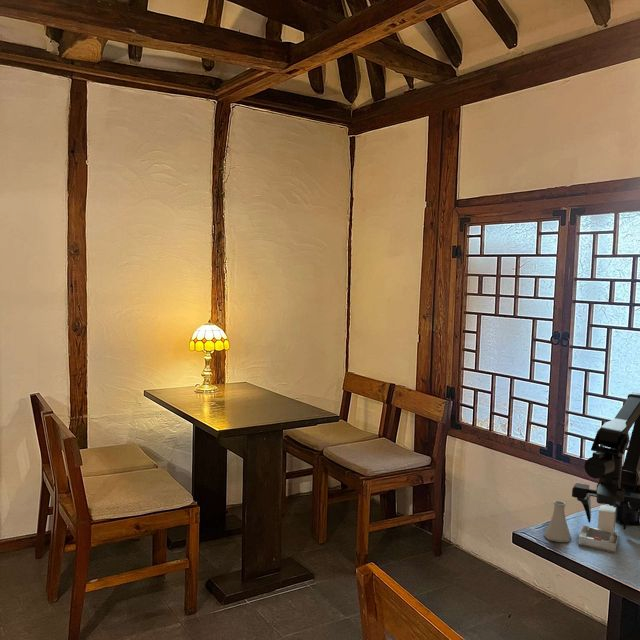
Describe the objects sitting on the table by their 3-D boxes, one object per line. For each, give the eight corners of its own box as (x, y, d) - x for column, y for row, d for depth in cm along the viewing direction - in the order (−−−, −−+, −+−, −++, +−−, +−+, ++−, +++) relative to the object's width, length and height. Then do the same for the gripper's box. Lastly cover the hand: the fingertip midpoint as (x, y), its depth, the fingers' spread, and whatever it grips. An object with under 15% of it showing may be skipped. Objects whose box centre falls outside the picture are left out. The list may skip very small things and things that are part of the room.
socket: (582, 534, 180) (583, 523, 180) (618, 541, 176) (618, 530, 176) (578, 545, 173) (578, 534, 172) (614, 553, 168) (615, 542, 168)
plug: (599, 528, 185) (601, 504, 185) (614, 531, 183) (616, 507, 183) (597, 534, 180) (598, 510, 180) (612, 538, 178) (614, 513, 178)
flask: (573, 544, 173) (576, 508, 172) (545, 541, 174) (547, 505, 174) (568, 534, 180) (571, 499, 179) (541, 531, 181) (544, 496, 181)
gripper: (570, 472, 178) (567, 527, 179) (645, 485, 169) (641, 543, 170) (576, 463, 188) (573, 515, 189) (647, 474, 179) (644, 529, 180)
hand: (606, 525), depth 182 cm, fingers open, 9 cm apart
